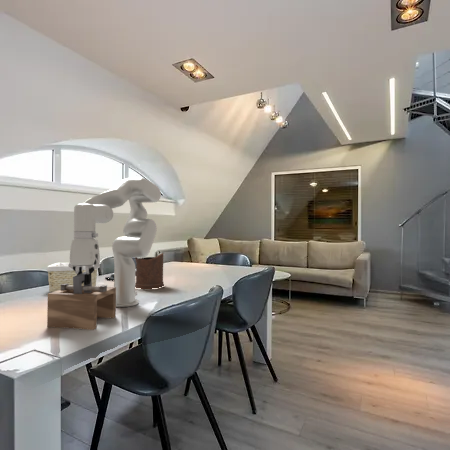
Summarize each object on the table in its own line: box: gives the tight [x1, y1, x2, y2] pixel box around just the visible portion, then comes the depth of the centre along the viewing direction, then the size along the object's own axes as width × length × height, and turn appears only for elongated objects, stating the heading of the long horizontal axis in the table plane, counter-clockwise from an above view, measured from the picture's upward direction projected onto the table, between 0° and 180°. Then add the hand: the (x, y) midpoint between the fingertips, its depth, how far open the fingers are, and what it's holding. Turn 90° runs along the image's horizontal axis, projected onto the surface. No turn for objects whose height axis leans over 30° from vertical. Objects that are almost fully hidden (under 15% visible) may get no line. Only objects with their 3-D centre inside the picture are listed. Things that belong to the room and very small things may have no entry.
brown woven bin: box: [134, 252, 165, 289], centre depth 189 cm, size 18×24×25 cm
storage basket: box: [46, 261, 98, 293], centre depth 179 cm, size 24×16×15 cm
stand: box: [46, 284, 117, 331], centre depth 120 cm, size 16×18×14 cm
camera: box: [104, 273, 114, 281], centre depth 210 cm, size 5×10×4 cm, turn 56°
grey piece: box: [73, 272, 92, 294], centre depth 119 cm, size 8×2×8 cm, turn 172°
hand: (83, 283), depth 120 cm, fingers closed on grey piece, 2 cm apart
